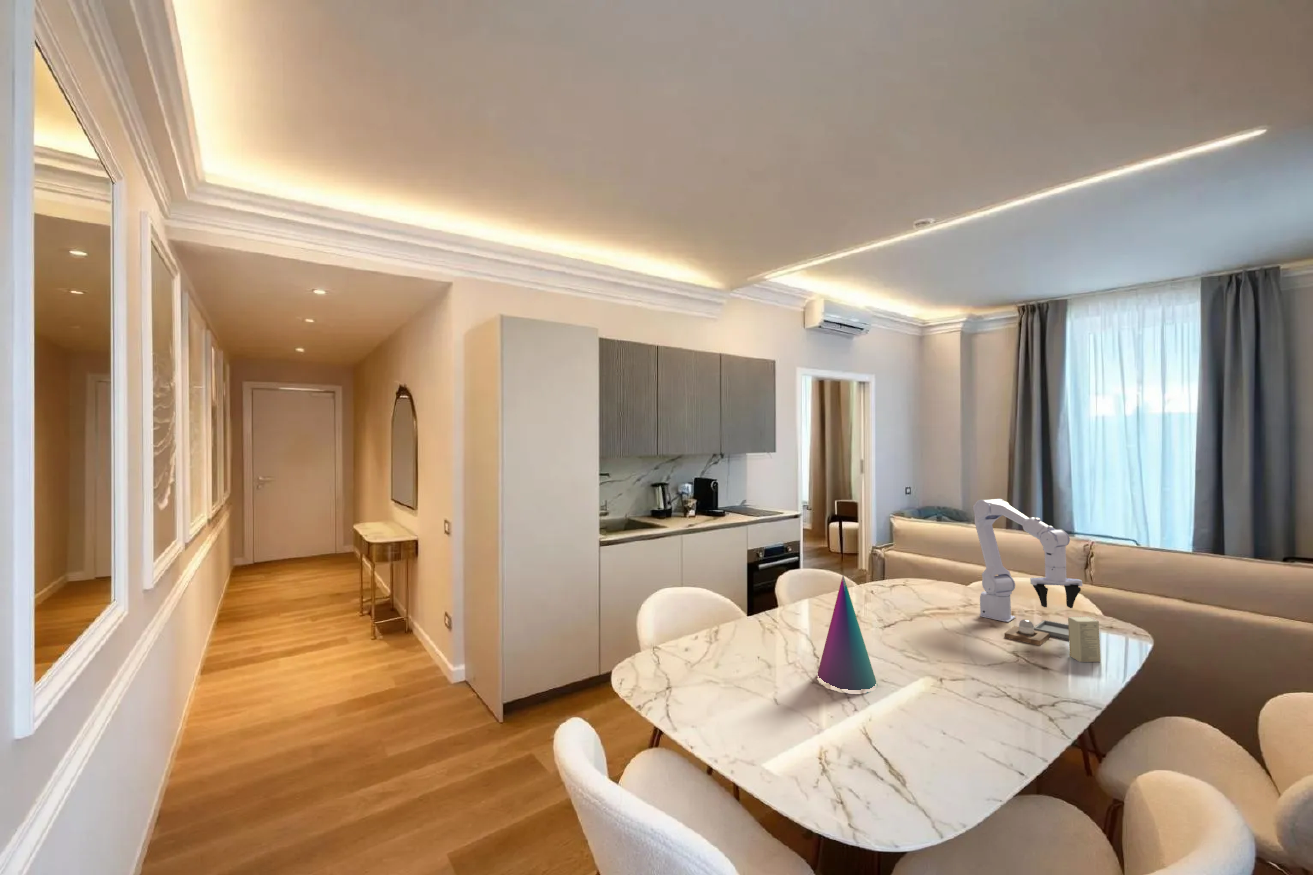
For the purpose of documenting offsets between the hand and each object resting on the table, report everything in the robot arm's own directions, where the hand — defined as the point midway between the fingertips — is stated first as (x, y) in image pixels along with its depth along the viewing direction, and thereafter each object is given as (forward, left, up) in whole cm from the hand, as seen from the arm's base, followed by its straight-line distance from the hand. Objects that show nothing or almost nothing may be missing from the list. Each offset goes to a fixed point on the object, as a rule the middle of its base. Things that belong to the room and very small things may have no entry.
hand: (1056, 606), depth 177 cm
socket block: (-7, -7, -10) cm, 14 cm away
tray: (-1, +6, -10) cm, 12 cm away
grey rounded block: (-7, -7, -10) cm, 14 cm away
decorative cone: (-30, -80, -11) cm, 86 cm away
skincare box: (+10, -15, -10) cm, 21 cm away
